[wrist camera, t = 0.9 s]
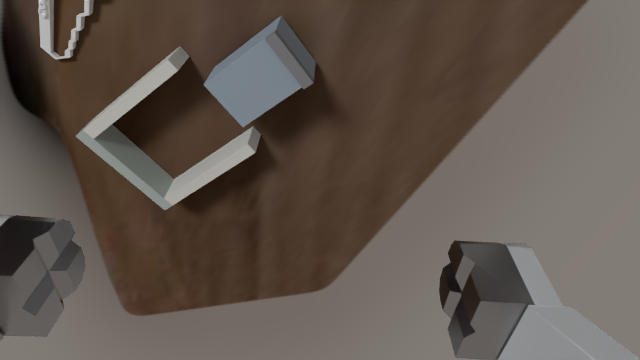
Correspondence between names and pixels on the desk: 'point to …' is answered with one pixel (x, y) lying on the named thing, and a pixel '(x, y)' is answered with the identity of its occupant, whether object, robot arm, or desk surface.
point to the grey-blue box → (262, 72)
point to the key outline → (48, 27)
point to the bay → (141, 166)
